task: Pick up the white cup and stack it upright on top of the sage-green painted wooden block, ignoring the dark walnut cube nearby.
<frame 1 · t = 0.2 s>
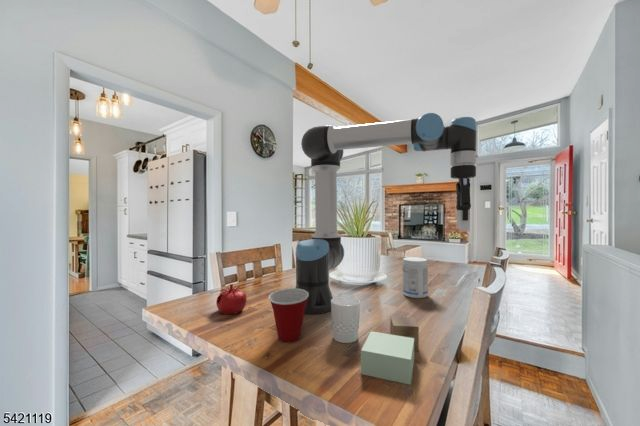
hand: (462, 229, 94), 28 cm above the table, fingers open, 13 cm apart
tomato: (231, 311, 97), on the table
walnut cube: (403, 344, 73), on the table
supplement tub: (415, 295, 114), on the table
plastic cup: (288, 338, 76), on the table
white cup: (345, 338, 76), on the table
base block: (388, 366, 62), on the table
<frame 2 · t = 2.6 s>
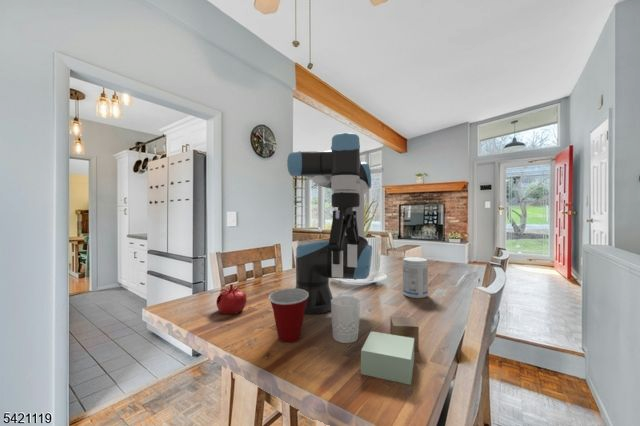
hand: (345, 271, 76), 18 cm above the table, fingers open, 13 cm apart
nothing on the table moved.
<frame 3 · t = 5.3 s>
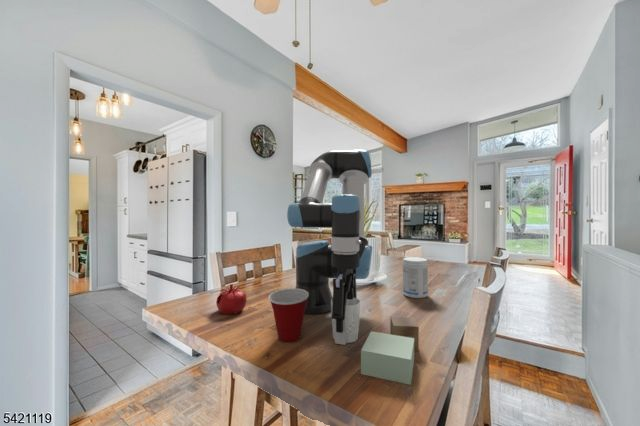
hand: (345, 336, 76), 0 cm above the table, fingers closed on white cup, 8 cm apart
white cup: (345, 338, 76), on the table, touching gripper
everything else where it was.
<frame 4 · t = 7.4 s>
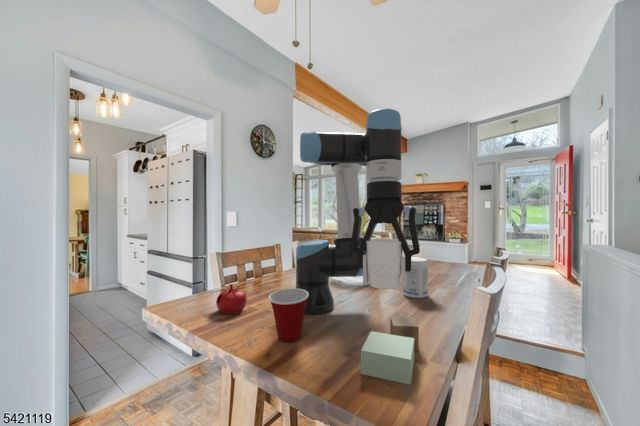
hand: (384, 284, 63), 18 cm above the table, fingers closed on white cup, 7 cm apart
white cup: (384, 286, 63), point 17 cm above the table, touching gripper
everything else where it was.
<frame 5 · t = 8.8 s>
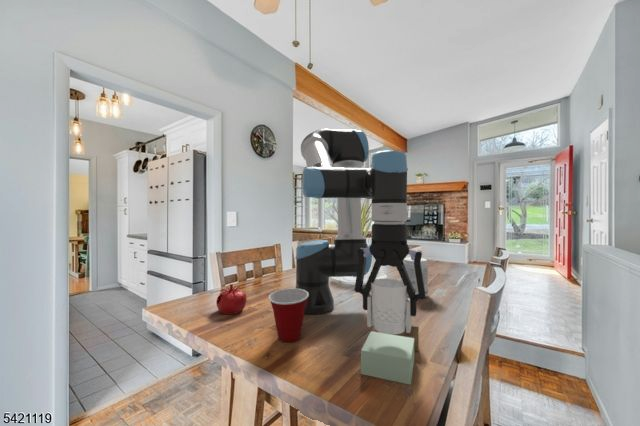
hand: (389, 327, 62), 9 cm above the table, fingers closed on white cup, 7 cm apart
white cup: (389, 329, 62), point 8 cm above the table, touching gripper
everything else where it was.
when the fingers open (7 cm above the table, at t = 10.0 s): white cup drops 1 cm, resting on base block.
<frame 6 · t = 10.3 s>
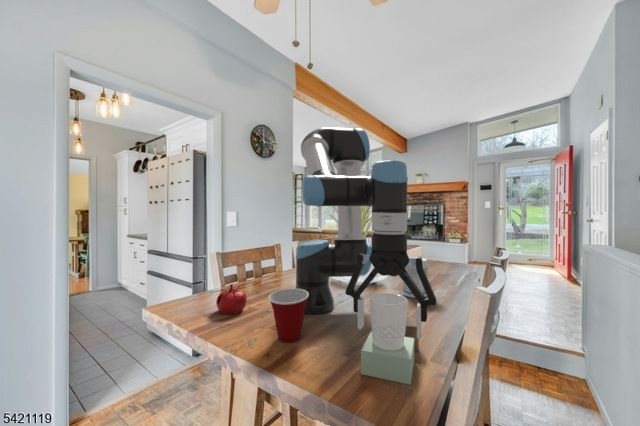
hand: (388, 331, 62), 8 cm above the table, fingers open, 12 cm apart
white cup: (388, 344, 62), point 5 cm above the table, touching base block
everything else where it was.
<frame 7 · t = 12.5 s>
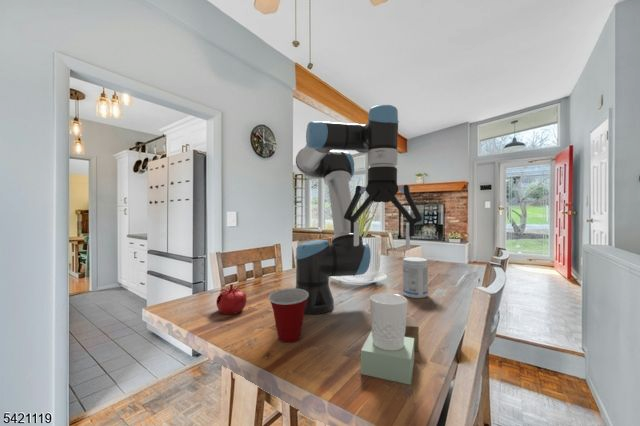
hand: (381, 247, 75), 24 cm above the table, fingers open, 13 cm apart
nothing on the table moved.
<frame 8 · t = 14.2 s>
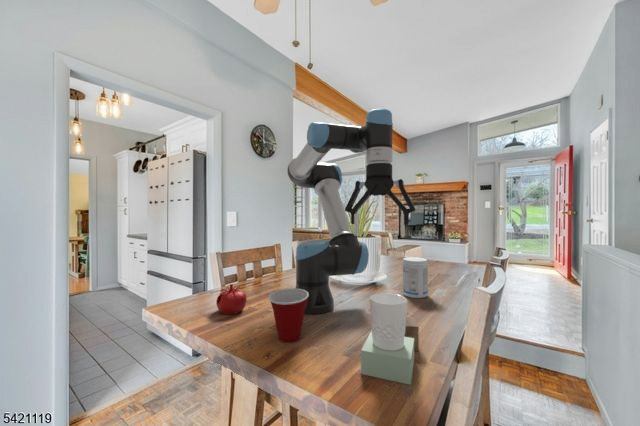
hand: (379, 236, 84), 27 cm above the table, fingers open, 13 cm apart
nothing on the table moved.
at the end: white cup inside the target area on the base block (0.1 cm from its centre), point 4.8 cm above the base block's base; white cup tilted 0°; the gripper is holding nothing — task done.
